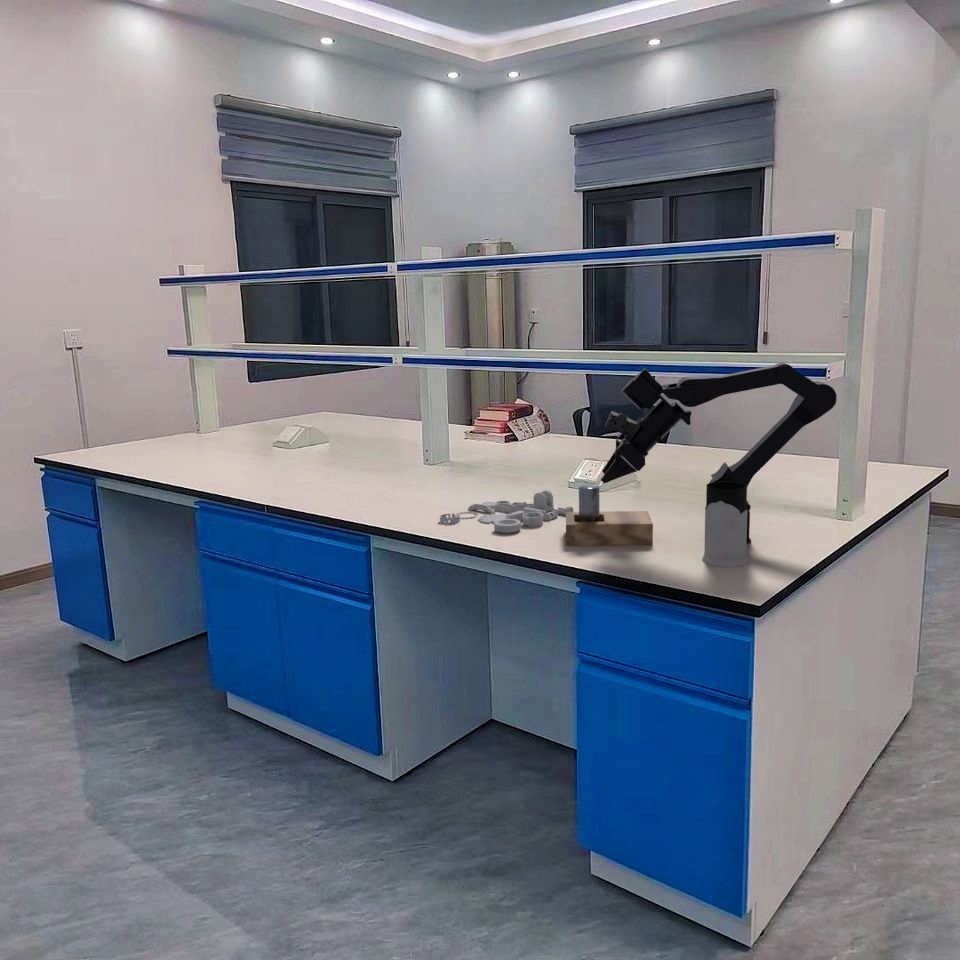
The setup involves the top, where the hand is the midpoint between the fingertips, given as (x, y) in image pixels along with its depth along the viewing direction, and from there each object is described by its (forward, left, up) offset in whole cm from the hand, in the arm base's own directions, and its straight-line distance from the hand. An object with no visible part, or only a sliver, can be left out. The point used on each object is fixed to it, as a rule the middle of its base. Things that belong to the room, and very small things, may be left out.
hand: (602, 477), depth 184 cm
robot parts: (+23, -19, -14) cm, 33 cm away
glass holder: (-24, +14, -14) cm, 31 cm away
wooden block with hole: (-1, 0, -13) cm, 14 cm away
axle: (+3, 0, -12) cm, 13 cm away
